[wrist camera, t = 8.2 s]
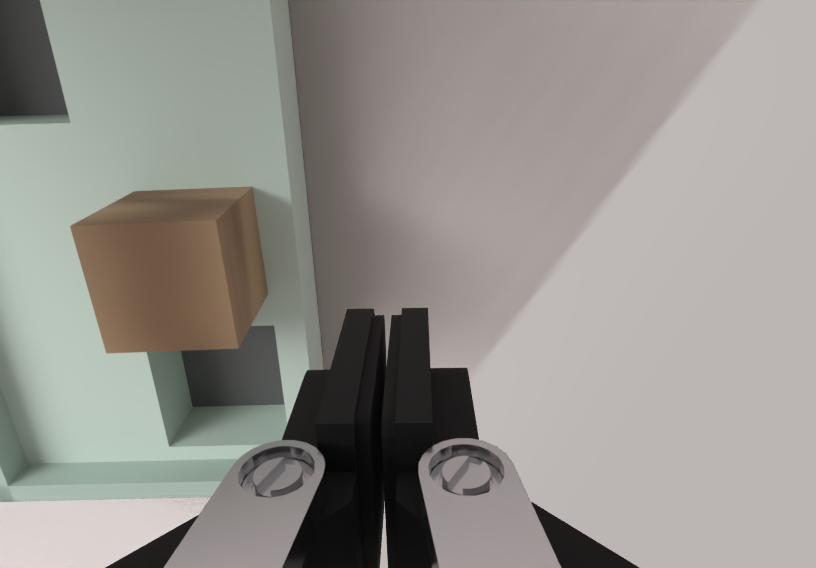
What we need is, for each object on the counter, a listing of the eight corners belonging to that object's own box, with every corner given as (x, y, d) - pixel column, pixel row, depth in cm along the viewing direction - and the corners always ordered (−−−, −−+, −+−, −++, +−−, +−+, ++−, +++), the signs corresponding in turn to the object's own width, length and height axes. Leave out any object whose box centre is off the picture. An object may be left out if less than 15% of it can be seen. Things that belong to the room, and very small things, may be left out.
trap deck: (55, 434, 27) (-6, 502, 23) (-131, -126, 18) (-281, -174, 14) (329, 427, 27) (316, 494, 23) (274, -137, 18) (238, -189, 14)
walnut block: (159, 298, 21) (106, 353, 17) (134, 191, 19) (69, 225, 15) (268, 294, 21) (238, 348, 17) (251, 186, 19) (215, 220, 15)
